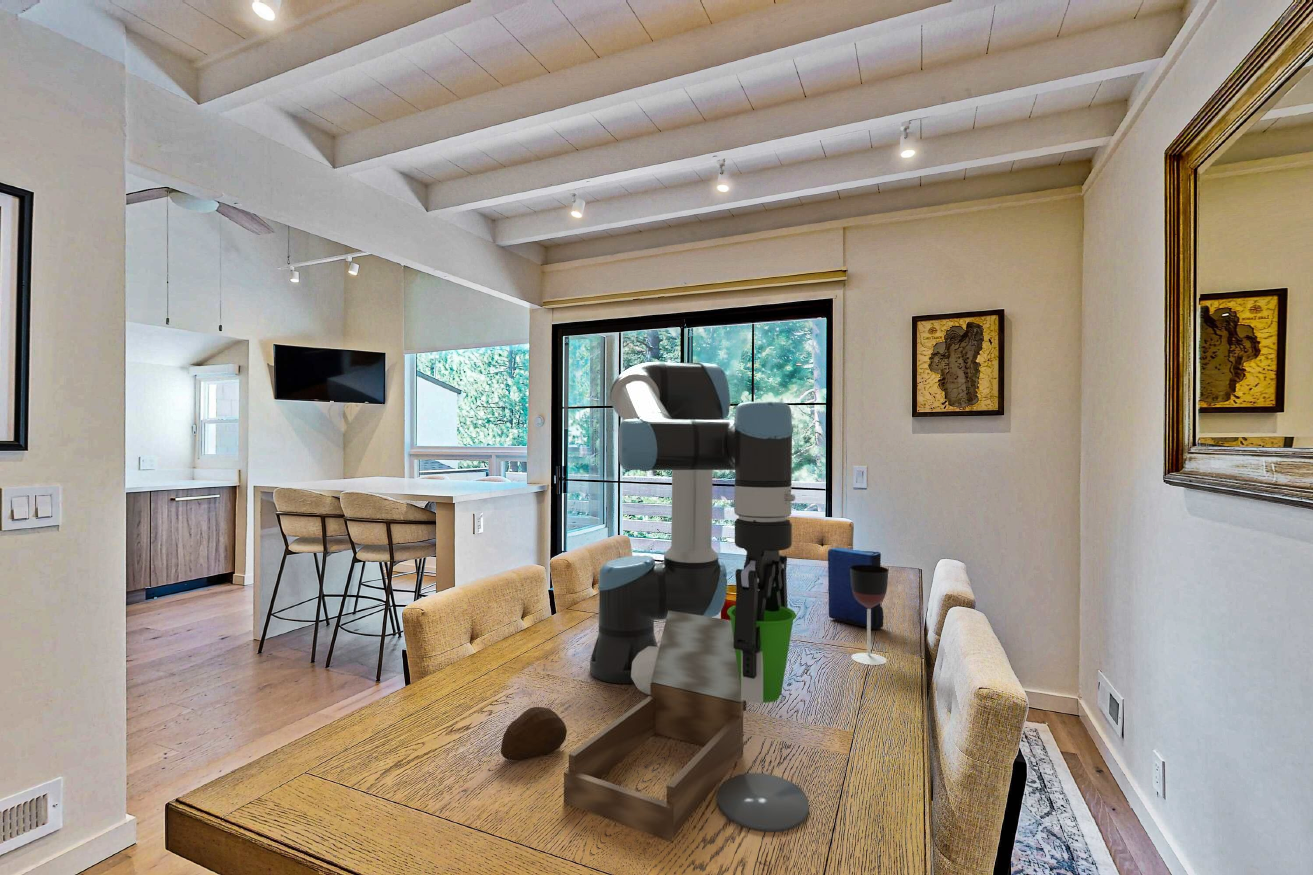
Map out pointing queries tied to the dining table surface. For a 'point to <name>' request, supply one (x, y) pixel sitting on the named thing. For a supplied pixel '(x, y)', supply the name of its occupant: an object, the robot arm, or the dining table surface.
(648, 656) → the beige half-round piece
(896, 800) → the dining table surface
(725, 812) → the gray round coaster
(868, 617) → the wineglass
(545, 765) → the dining table surface
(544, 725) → the potato
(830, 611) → the book
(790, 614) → the cup
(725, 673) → the cold frame
